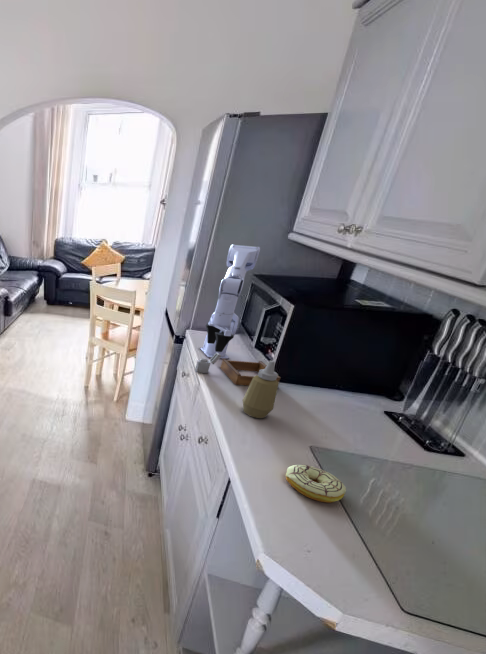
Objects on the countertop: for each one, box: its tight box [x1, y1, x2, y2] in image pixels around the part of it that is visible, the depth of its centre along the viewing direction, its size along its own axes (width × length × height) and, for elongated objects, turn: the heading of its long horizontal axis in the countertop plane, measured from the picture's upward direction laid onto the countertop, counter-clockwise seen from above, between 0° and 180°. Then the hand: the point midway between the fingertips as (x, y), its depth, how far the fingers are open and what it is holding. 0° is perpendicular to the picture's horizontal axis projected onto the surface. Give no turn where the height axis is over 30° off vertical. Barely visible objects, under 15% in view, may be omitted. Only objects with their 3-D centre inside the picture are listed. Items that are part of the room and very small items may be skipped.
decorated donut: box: [285, 464, 347, 503], centre depth 92 cm, size 10×11×4 cm
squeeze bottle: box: [242, 360, 280, 419], centre depth 118 cm, size 8×8×18 cm
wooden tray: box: [219, 358, 281, 387], centre depth 143 cm, size 14×14×4 cm
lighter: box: [194, 353, 221, 374], centre depth 146 cm, size 7×2×8 cm, turn 81°
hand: (214, 347), depth 144 cm, fingers open, 7 cm apart
